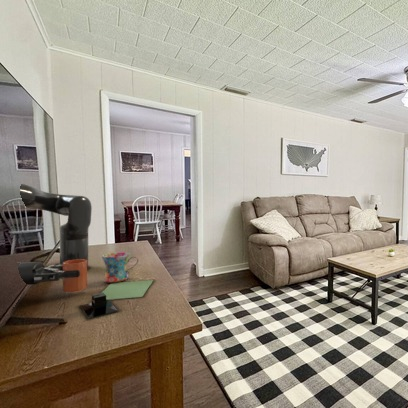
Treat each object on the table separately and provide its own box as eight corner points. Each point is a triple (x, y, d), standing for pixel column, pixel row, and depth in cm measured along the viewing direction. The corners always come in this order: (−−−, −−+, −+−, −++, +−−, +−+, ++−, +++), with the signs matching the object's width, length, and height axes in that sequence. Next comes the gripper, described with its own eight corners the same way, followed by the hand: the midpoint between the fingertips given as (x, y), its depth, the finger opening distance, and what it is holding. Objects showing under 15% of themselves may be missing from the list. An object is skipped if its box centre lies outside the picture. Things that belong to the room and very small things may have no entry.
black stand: (80, 306, 91) (80, 292, 91) (108, 300, 97) (108, 287, 96) (88, 319, 83) (88, 303, 83) (119, 311, 89) (119, 297, 89)
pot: (68, 286, 101) (68, 259, 101) (90, 285, 104) (90, 258, 103) (59, 293, 96) (59, 264, 95) (82, 291, 98) (82, 263, 97)
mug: (99, 285, 108) (99, 258, 107) (103, 279, 115) (103, 253, 115) (137, 281, 114) (138, 255, 114) (138, 275, 122) (139, 251, 122)
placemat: (111, 283, 111) (111, 282, 111) (153, 280, 117) (153, 280, 117) (92, 301, 95) (92, 300, 95) (142, 297, 100) (142, 296, 100)
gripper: (4, 269, 87) (74, 265, 93) (33, 257, 100) (92, 255, 107) (5, 292, 87) (74, 287, 94) (33, 277, 101) (92, 274, 107)
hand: (83, 270), depth 100 cm, fingers closed on pot, 6 cm apart
